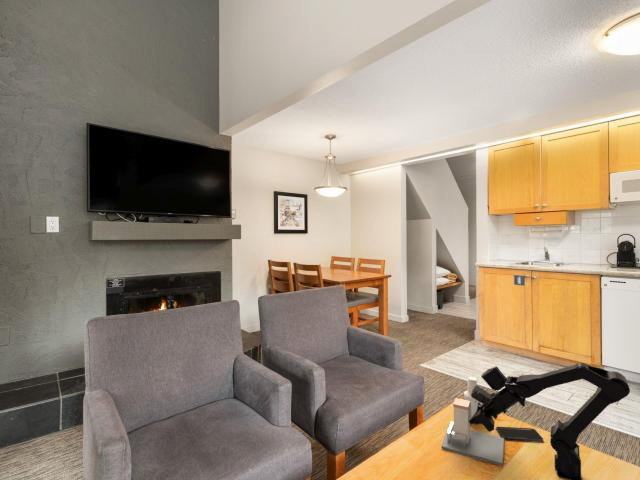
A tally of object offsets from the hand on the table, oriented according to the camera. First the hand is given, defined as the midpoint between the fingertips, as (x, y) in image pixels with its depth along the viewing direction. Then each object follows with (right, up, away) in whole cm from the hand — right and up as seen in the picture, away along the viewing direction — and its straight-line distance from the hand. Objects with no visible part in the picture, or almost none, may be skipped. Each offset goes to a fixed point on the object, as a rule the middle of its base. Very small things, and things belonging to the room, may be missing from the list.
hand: (469, 422), depth 129 cm
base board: (+1, -8, 0) cm, 8 cm away
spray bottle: (+8, -8, +16) cm, 20 cm away
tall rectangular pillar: (-2, -7, +2) cm, 7 cm away
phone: (+22, -8, +5) cm, 24 cm away
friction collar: (-3, -7, +2) cm, 8 cm away
